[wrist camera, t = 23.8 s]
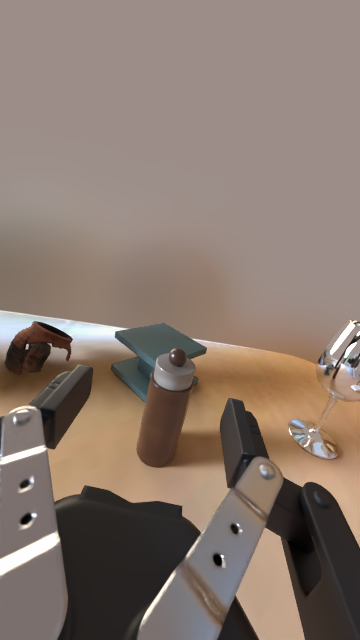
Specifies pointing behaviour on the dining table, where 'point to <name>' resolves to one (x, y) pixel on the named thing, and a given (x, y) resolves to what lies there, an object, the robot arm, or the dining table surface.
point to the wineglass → (332, 388)
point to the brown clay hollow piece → (35, 347)
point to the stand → (150, 353)
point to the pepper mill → (165, 408)
